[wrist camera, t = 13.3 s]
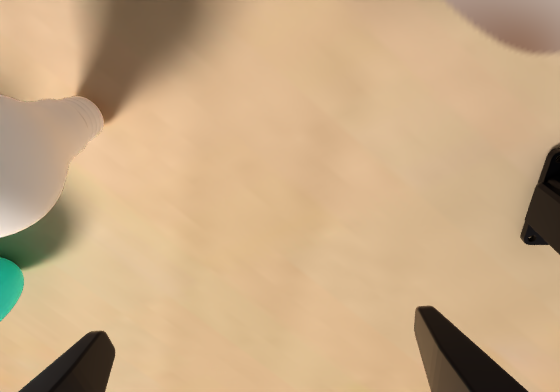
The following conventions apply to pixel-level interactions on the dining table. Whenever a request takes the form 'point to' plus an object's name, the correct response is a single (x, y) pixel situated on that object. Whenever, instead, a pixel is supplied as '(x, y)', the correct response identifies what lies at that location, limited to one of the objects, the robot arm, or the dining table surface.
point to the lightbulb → (39, 154)
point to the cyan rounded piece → (9, 285)
